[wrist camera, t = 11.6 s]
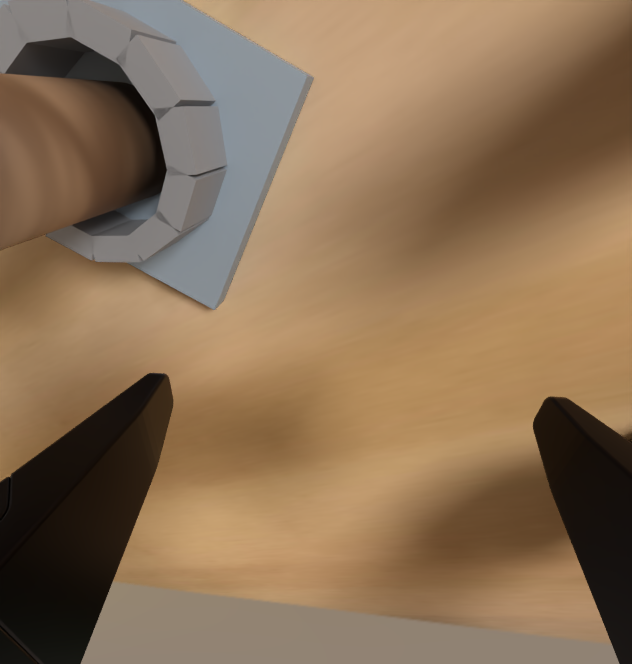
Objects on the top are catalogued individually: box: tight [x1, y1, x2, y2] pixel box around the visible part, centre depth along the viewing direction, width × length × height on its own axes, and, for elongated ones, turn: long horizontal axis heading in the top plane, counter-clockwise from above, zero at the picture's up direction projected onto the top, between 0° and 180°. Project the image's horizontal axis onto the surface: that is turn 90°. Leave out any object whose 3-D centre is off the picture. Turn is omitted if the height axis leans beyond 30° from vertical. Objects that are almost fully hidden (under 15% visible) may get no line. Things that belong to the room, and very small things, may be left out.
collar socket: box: [0, 0, 314, 310], centre depth 18 cm, size 13×12×4 cm
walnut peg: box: [0, 73, 167, 250], centre depth 13 cm, size 6×6×13 cm
